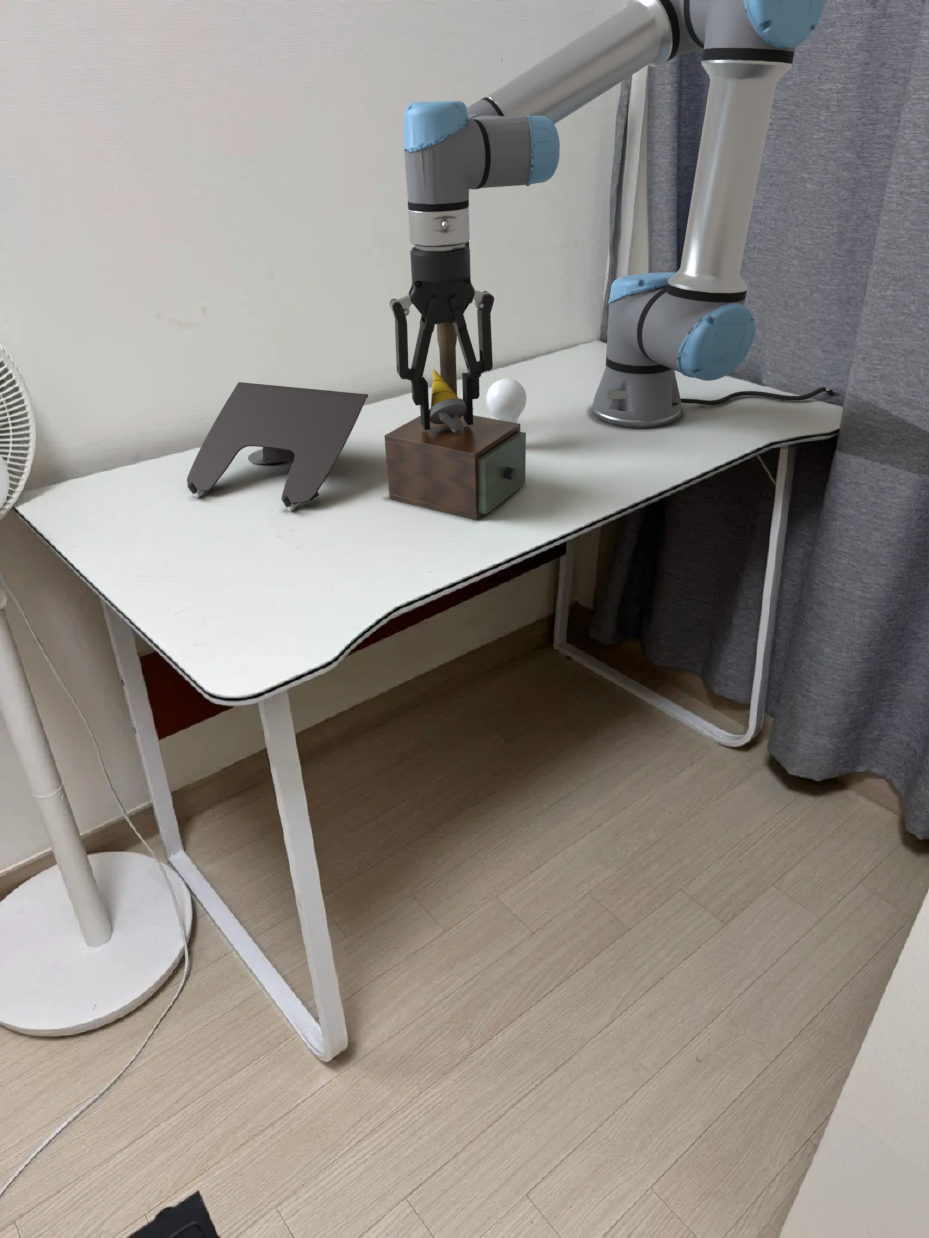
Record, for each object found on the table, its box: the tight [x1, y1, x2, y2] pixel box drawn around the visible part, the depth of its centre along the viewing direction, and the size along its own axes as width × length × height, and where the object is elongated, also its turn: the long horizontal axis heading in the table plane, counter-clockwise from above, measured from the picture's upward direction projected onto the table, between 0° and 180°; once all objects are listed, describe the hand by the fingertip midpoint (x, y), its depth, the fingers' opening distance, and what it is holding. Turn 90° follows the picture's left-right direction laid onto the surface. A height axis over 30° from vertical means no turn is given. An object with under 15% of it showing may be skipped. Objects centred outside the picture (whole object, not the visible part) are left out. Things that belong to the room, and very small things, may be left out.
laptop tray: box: [186, 381, 369, 511], centre depth 130 cm, size 23×23×9 cm
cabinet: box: [384, 414, 521, 521], centre depth 122 cm, size 15×13×10 cm
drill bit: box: [429, 368, 467, 433], centre depth 118 cm, size 5×5×10 cm
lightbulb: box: [485, 377, 527, 423], centre depth 136 cm, size 6×6×11 cm
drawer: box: [478, 430, 527, 515], centre depth 121 cm, size 15×11×8 cm
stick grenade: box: [436, 240, 474, 396], centre depth 138 cm, size 8×9×30 cm
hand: (447, 423), depth 120 cm, fingers closed on drill bit, 5 cm apart
